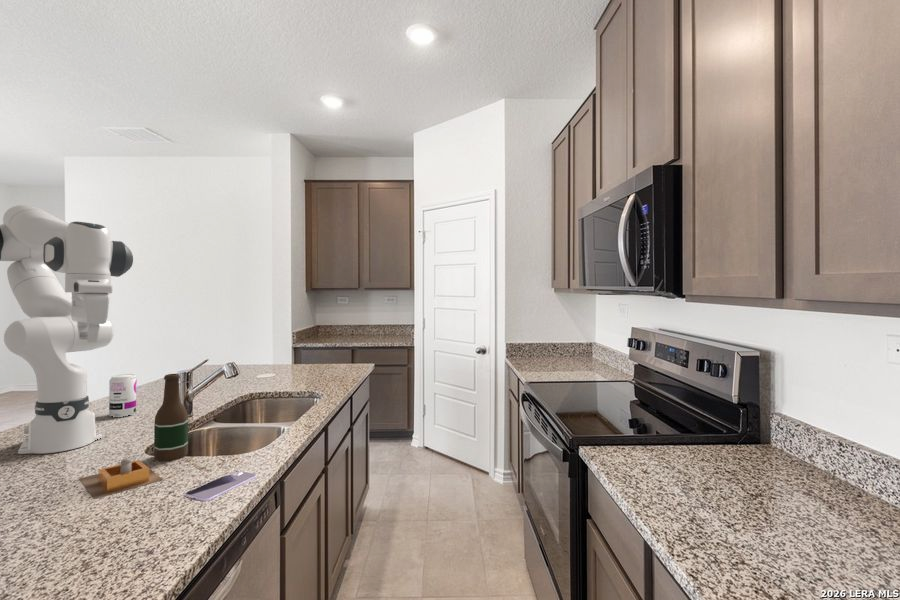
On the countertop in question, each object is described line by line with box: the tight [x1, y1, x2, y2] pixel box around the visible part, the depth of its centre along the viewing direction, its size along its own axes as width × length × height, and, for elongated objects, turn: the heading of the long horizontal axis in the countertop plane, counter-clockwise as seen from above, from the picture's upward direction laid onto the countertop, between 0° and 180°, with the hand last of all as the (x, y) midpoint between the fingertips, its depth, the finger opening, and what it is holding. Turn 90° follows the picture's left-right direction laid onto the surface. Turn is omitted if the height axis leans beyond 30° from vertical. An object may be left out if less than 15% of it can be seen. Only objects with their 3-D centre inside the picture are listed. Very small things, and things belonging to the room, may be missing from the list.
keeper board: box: [78, 457, 164, 500], centre depth 102 cm, size 16×13×8 cm
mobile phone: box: [184, 470, 258, 502], centre depth 103 cm, size 8×1×15 cm
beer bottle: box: [153, 373, 189, 462], centre depth 117 cm, size 8×8×24 cm
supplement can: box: [108, 373, 138, 418], centre depth 162 cm, size 8×8×15 cm
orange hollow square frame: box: [97, 459, 150, 492], centre depth 101 cm, size 8×8×3 cm
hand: (87, 340), depth 108 cm, fingers open, 8 cm apart
